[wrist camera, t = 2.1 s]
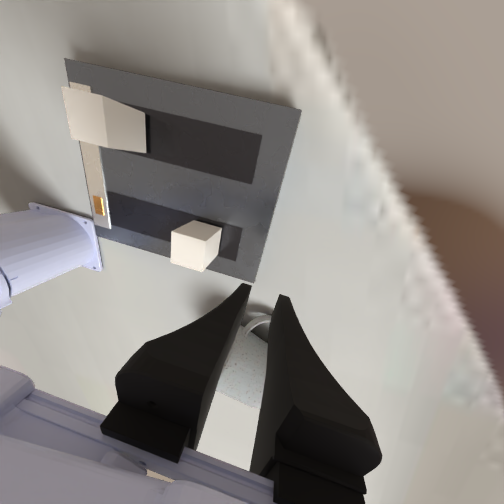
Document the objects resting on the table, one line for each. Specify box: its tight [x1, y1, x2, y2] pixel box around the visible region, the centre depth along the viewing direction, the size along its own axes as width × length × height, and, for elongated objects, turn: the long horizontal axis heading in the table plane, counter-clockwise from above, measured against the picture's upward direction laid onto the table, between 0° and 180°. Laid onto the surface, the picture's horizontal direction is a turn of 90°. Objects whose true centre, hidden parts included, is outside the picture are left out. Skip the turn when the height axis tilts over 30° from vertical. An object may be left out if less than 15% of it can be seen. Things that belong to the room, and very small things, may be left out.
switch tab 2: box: [171, 220, 222, 272], centre depth 17 cm, size 3×3×4 cm
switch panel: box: [64, 58, 302, 283], centre depth 18 cm, size 20×16×2 cm
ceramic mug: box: [216, 315, 271, 409], centre depth 23 cm, size 11×8×8 cm
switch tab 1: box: [61, 86, 146, 153], centre depth 14 cm, size 3×3×4 cm
